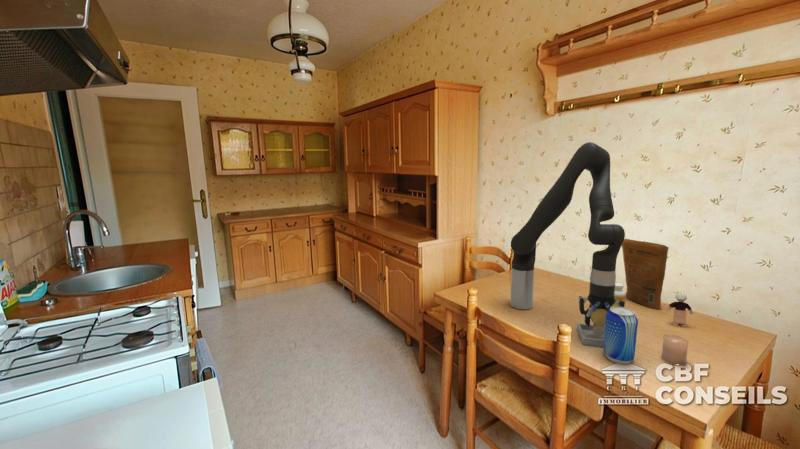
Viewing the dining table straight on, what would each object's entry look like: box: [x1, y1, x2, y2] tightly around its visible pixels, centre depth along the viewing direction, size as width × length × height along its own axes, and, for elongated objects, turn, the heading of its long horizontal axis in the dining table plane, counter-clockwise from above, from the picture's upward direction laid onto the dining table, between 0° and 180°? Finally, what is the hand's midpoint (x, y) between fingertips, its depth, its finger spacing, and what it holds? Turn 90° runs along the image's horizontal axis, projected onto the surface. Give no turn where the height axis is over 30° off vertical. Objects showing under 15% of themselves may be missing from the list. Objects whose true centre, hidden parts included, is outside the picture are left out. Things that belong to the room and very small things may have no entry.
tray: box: [576, 322, 605, 348], centre depth 122 cm, size 12×12×2 cm
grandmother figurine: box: [666, 292, 694, 328], centre depth 130 cm, size 8×4×13 cm, turn 71°
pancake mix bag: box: [621, 238, 670, 310], centre depth 149 cm, size 7×19×28 cm, turn 16°
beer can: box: [602, 307, 639, 365], centre depth 109 cm, size 8×8×16 cm
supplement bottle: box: [611, 281, 626, 308], centre depth 140 cm, size 7×7×13 cm
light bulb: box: [590, 309, 608, 335], centre depth 121 cm, size 6×6×10 cm
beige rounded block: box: [661, 334, 689, 366], centre depth 107 cm, size 6×6×7 cm
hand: (599, 326), depth 121 cm, fingers closed on light bulb, 6 cm apart
